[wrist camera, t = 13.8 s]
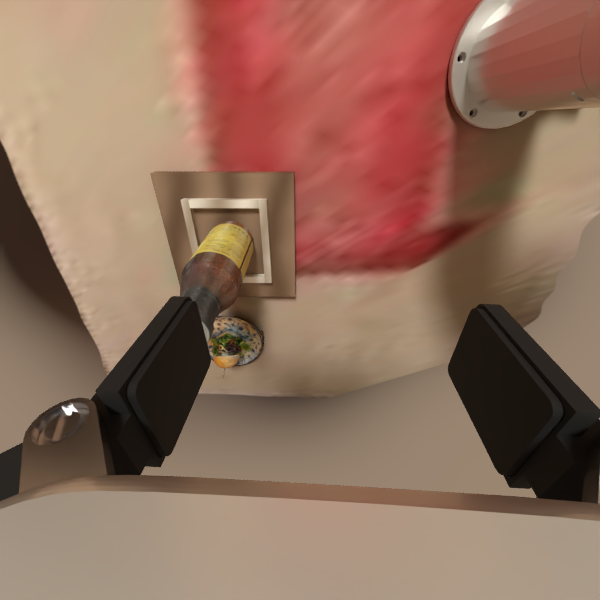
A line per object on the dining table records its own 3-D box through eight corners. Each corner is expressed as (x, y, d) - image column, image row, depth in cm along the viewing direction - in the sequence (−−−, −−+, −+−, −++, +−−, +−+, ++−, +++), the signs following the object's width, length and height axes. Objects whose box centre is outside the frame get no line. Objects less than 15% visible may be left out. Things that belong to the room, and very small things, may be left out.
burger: (273, 323, 50) (268, 352, 43) (252, 367, 55) (246, 398, 49) (206, 300, 47) (191, 328, 41) (192, 348, 53) (177, 379, 47)
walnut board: (294, 171, 36) (293, 174, 34) (295, 291, 46) (295, 300, 44) (155, 171, 36) (146, 174, 34) (186, 291, 46) (180, 299, 44)
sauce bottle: (204, 224, 38) (125, 303, 22) (247, 214, 38) (200, 288, 21) (221, 266, 42) (165, 363, 25) (261, 258, 41) (231, 352, 24)
